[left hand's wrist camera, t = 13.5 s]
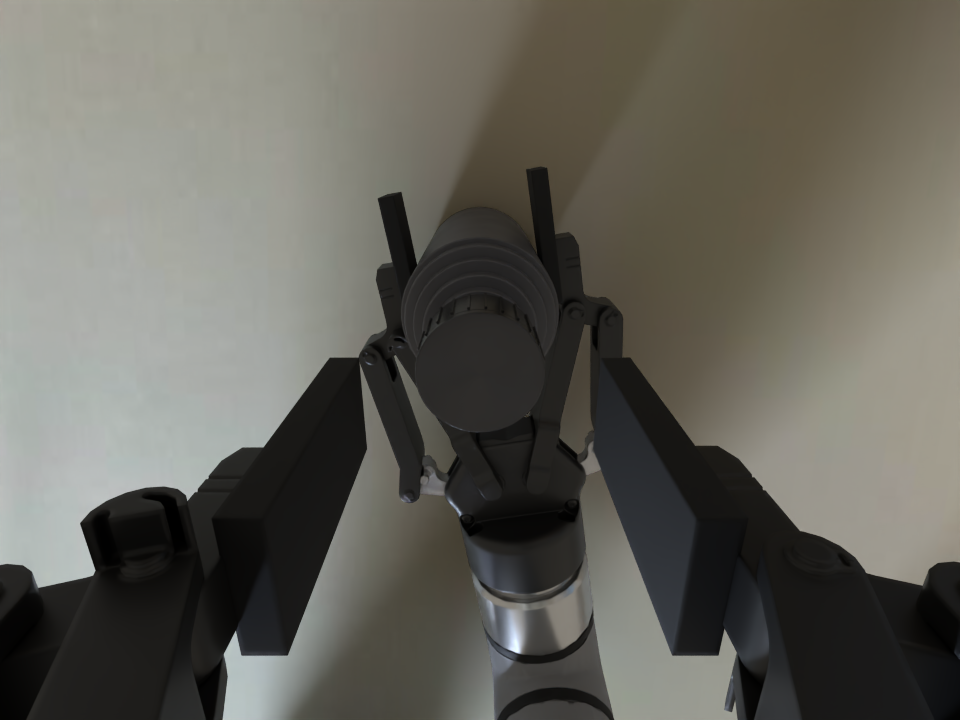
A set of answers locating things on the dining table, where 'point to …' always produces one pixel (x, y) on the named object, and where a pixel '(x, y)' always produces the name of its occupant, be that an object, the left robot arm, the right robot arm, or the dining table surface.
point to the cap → (480, 364)
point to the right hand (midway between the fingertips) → (462, 182)
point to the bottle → (480, 273)
